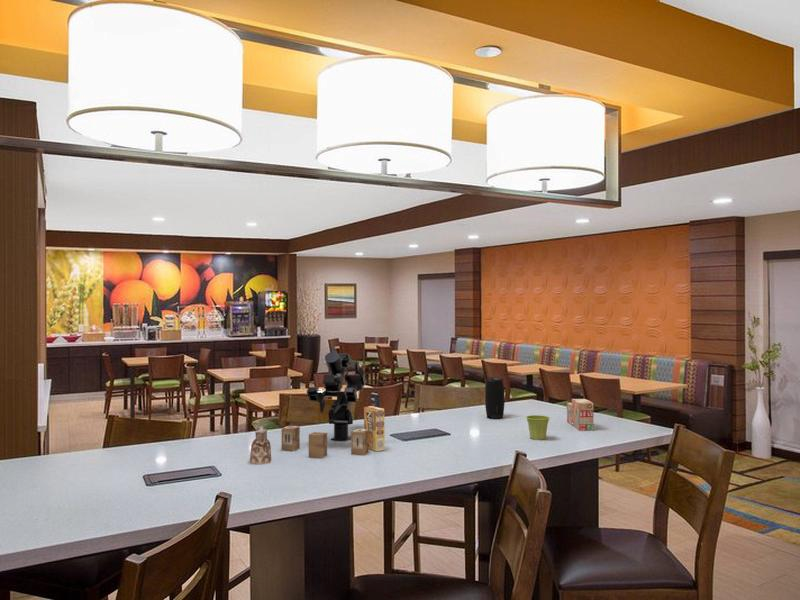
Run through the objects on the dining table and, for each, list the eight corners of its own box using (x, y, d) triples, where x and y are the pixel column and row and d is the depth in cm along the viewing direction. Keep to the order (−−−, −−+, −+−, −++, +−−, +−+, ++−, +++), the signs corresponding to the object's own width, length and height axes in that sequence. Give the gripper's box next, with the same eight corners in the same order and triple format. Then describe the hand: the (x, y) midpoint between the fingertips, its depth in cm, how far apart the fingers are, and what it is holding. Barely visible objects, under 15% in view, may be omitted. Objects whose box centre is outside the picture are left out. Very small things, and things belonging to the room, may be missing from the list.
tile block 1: (287, 447, 224) (287, 425, 224) (299, 448, 223) (299, 425, 223) (281, 450, 219) (281, 427, 219) (293, 451, 218) (293, 428, 218)
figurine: (250, 464, 198) (250, 428, 198) (249, 460, 205) (249, 424, 205) (271, 463, 200) (272, 427, 200) (270, 458, 207) (270, 423, 207)
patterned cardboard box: (566, 422, 278) (566, 395, 279) (580, 422, 278) (579, 396, 279) (579, 431, 257) (579, 402, 257) (593, 431, 257) (593, 402, 257)
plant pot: (548, 441, 235) (548, 419, 235) (524, 440, 238) (524, 418, 238) (550, 437, 244) (550, 415, 244) (527, 435, 247) (527, 414, 247)
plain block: (313, 454, 213) (314, 431, 213) (327, 455, 212) (327, 432, 212) (308, 457, 208) (308, 434, 208) (321, 458, 207) (322, 435, 207)
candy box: (385, 450, 219) (385, 408, 220) (375, 451, 217) (375, 409, 217) (373, 446, 227) (373, 405, 227) (363, 447, 224) (363, 406, 225)
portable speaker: (487, 416, 295) (487, 376, 295) (506, 417, 292) (505, 377, 292) (483, 418, 287) (483, 378, 287) (503, 420, 284) (503, 378, 284)
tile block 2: (355, 451, 218) (355, 428, 218) (368, 452, 217) (368, 429, 217) (350, 454, 213) (350, 431, 213) (364, 455, 211) (364, 431, 212)
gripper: (308, 365, 229) (298, 398, 218) (355, 366, 226) (347, 399, 215) (314, 384, 237) (305, 416, 226) (360, 385, 233) (353, 418, 222)
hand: (327, 412), depth 222 cm, fingers open, 5 cm apart
